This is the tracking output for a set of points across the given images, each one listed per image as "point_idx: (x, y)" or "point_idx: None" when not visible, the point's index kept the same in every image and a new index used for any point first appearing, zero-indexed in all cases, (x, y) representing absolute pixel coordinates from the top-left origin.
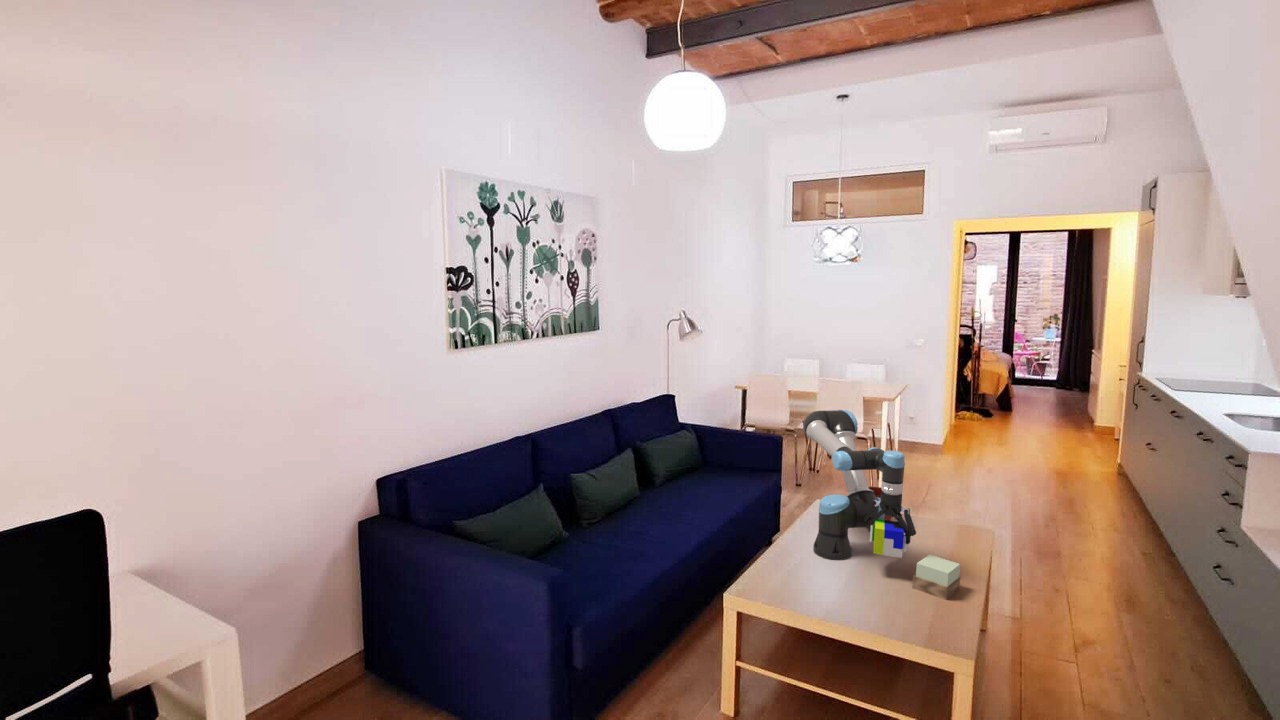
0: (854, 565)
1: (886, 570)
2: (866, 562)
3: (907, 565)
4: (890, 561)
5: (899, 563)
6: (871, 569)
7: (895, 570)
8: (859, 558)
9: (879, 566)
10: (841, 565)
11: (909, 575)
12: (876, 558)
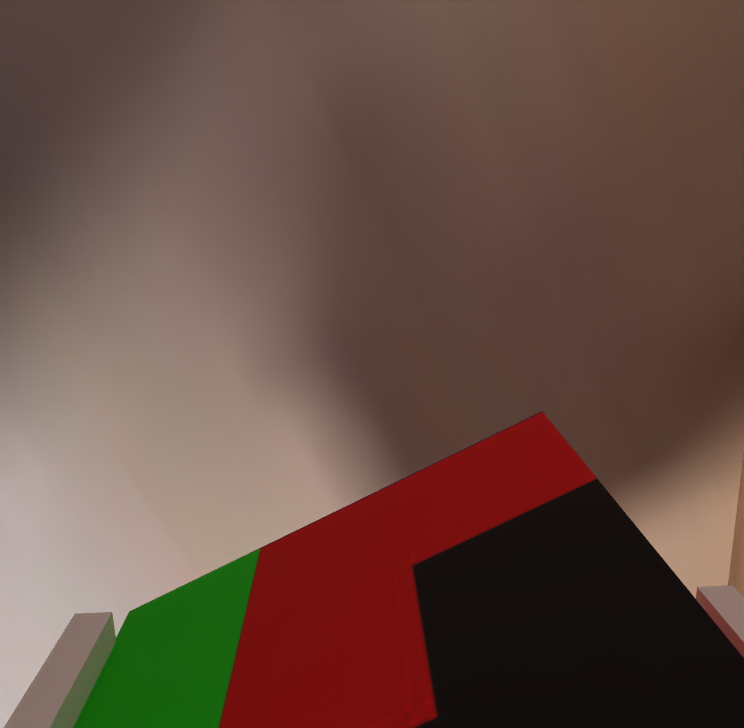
0: (89, 576)
1: (375, 443)
2: (123, 420)
3: (485, 132)
4: (289, 181)
5: (391, 152)
6: (256, 534)
7: (443, 372)
8: (9, 382)
9: (273, 408)
10: (8, 666)
11: (605, 376)
12: (132, 229)
